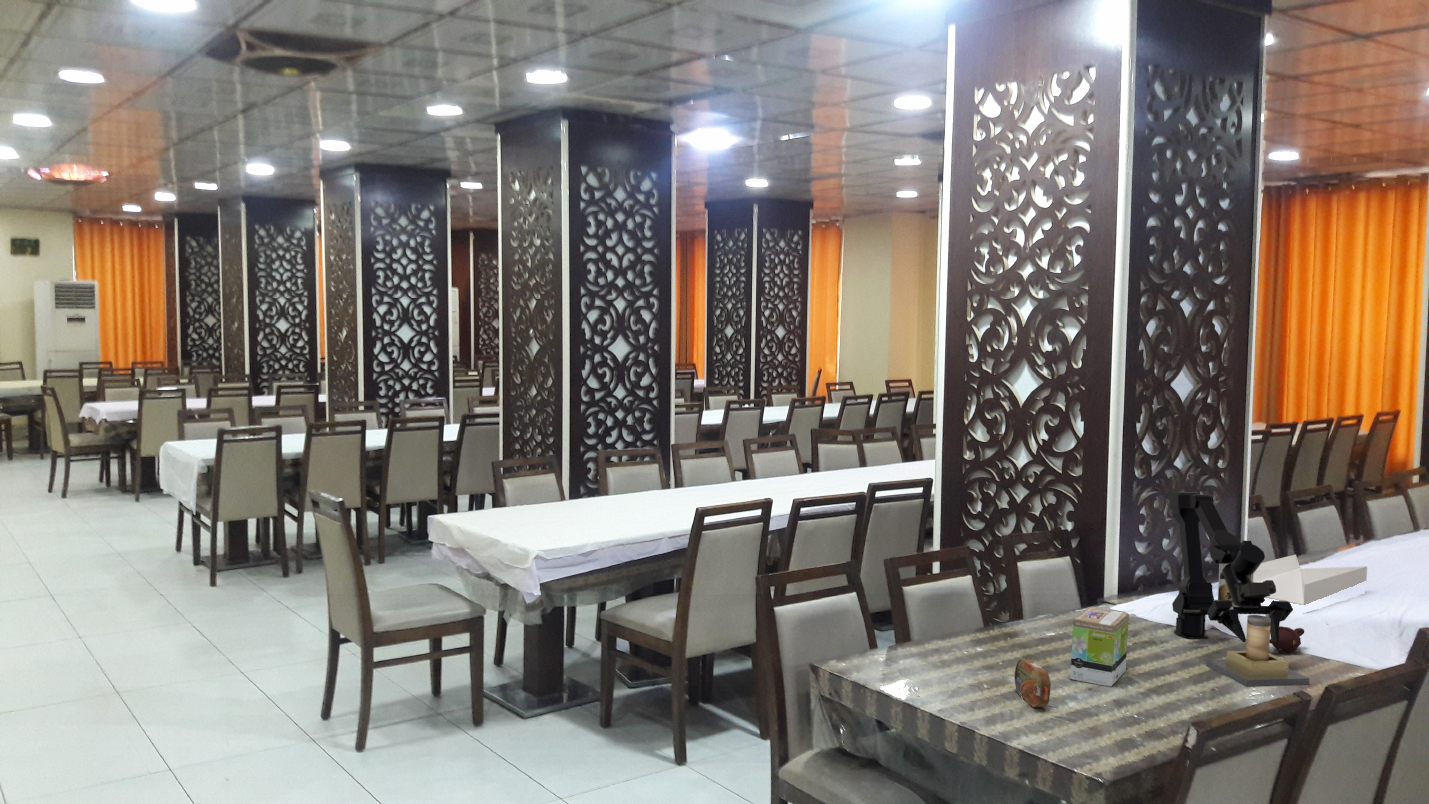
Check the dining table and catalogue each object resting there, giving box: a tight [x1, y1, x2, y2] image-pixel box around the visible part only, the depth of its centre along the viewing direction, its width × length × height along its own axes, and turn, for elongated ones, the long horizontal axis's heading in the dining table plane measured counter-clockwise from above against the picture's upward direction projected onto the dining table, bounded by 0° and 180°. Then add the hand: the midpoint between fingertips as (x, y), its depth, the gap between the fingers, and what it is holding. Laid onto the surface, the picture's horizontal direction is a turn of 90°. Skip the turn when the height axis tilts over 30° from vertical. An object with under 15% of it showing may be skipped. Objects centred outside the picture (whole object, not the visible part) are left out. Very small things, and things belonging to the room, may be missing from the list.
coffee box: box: [1217, 564, 1253, 605], centre depth 327 cm, size 9×6×16 cm
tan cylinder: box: [1245, 614, 1271, 661], centre depth 262 cm, size 5×5×12 cm
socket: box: [1205, 650, 1310, 687], centre depth 262 cm, size 16×16×4 cm
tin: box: [1014, 658, 1052, 708], centre depth 240 cm, size 15×3×8 cm, turn 5°
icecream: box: [1270, 625, 1305, 655], centre depth 282 cm, size 7×7×15 cm
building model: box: [1253, 554, 1368, 605], centre depth 345 cm, size 45×22×10 cm, turn 128°
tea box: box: [1069, 606, 1130, 687], centre depth 259 cm, size 15×10×15 cm
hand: (1261, 641), depth 260 cm, fingers open, 8 cm apart
